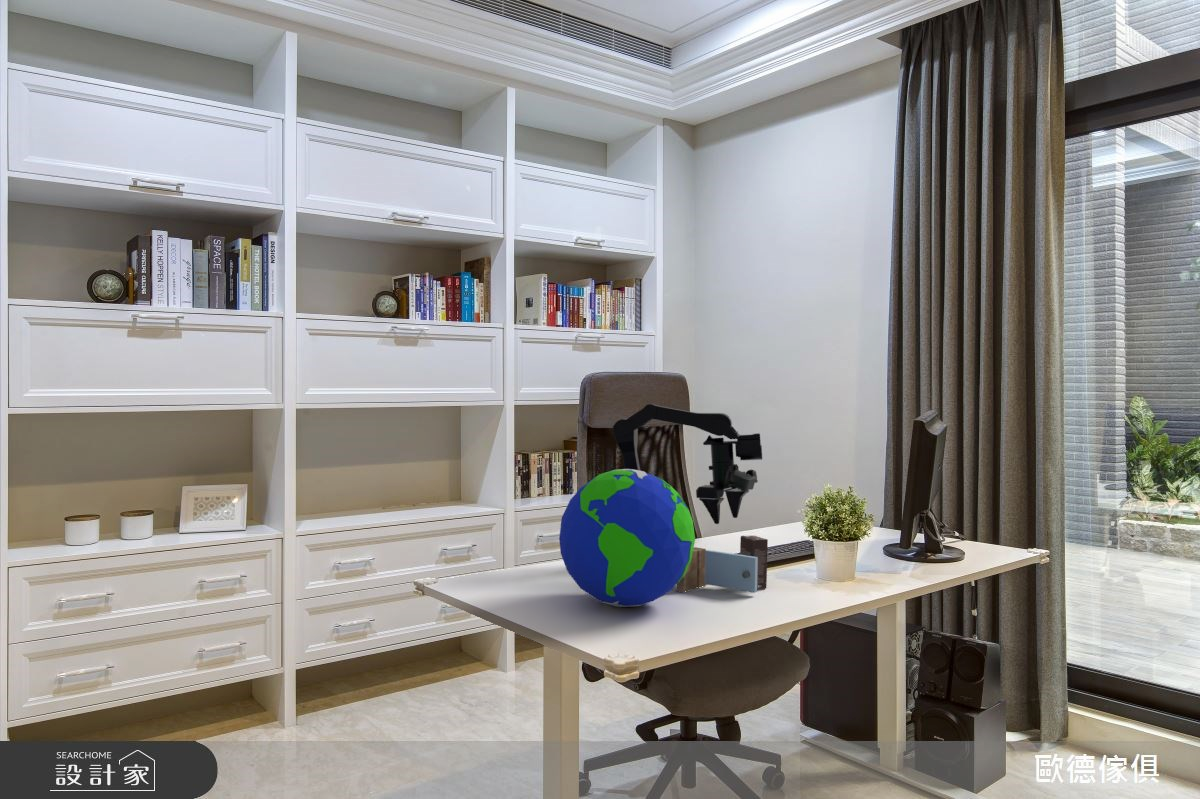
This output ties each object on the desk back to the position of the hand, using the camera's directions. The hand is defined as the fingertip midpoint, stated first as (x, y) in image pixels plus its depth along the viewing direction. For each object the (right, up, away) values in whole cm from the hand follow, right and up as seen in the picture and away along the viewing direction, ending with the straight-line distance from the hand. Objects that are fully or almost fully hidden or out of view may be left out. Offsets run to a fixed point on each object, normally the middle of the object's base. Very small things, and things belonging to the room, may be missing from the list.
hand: (726, 520), depth 215 cm
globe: (-27, -14, -34) cm, 46 cm away
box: (+4, -14, -16) cm, 22 cm away
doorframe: (-7, -13, -14) cm, 20 cm away
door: (-3, -13, -22) cm, 26 cm away
